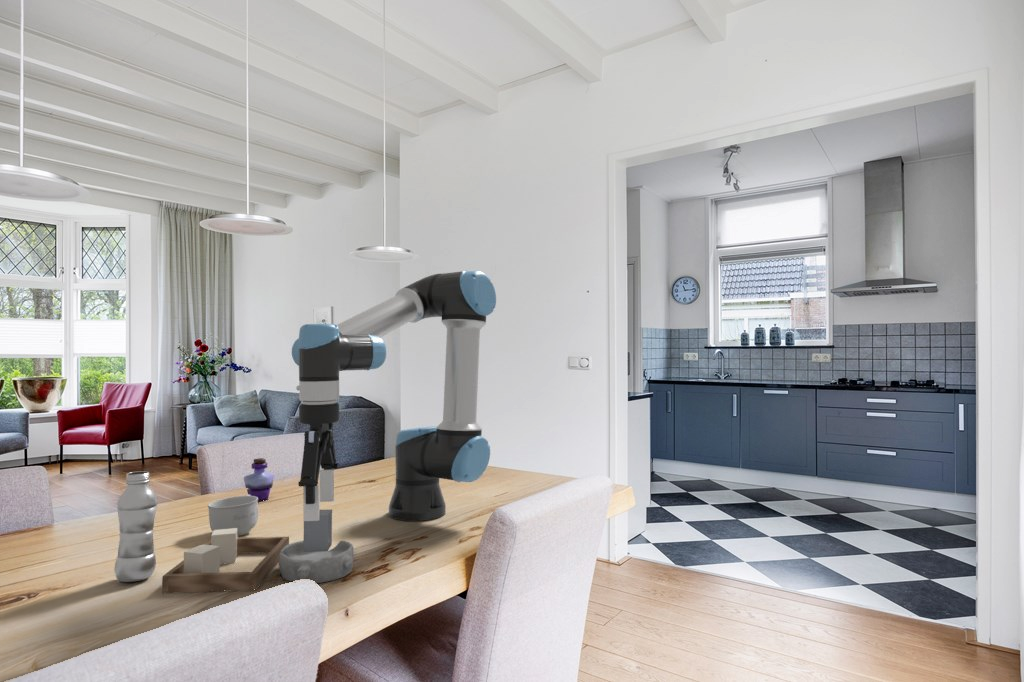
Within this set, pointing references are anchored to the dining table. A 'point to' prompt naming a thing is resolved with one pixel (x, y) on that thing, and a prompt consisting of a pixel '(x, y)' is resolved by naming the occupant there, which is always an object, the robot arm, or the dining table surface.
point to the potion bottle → (259, 480)
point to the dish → (316, 562)
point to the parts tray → (228, 580)
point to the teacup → (234, 513)
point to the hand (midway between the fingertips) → (319, 510)
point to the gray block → (318, 533)
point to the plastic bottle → (136, 529)
